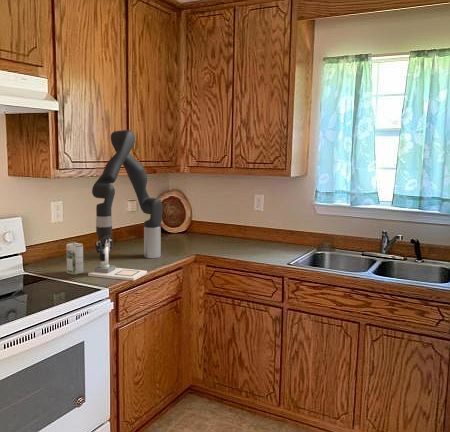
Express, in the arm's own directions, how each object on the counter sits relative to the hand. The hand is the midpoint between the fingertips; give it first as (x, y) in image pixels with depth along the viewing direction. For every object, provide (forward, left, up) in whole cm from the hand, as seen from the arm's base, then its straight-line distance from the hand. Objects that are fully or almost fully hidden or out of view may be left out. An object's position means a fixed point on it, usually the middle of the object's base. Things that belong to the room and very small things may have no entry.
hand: (104, 259), depth 228 cm
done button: (0, 0, -5) cm, 5 cm away
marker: (0, 0, -2) cm, 2 cm away
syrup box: (+4, -14, -7) cm, 16 cm away
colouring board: (0, +7, -7) cm, 10 cm away
